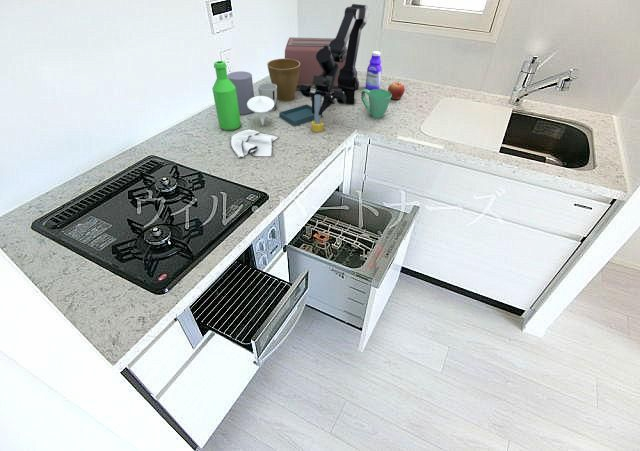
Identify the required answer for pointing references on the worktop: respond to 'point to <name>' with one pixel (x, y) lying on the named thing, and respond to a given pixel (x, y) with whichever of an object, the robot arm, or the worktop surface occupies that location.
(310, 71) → the toaster
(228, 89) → the bottle
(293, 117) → the tray
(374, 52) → the bottle
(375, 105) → the mug
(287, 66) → the plant pot
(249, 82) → the container
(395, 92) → the apple
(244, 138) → the cloth
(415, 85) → the worktop surface
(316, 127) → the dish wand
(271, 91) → the cup
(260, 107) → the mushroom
